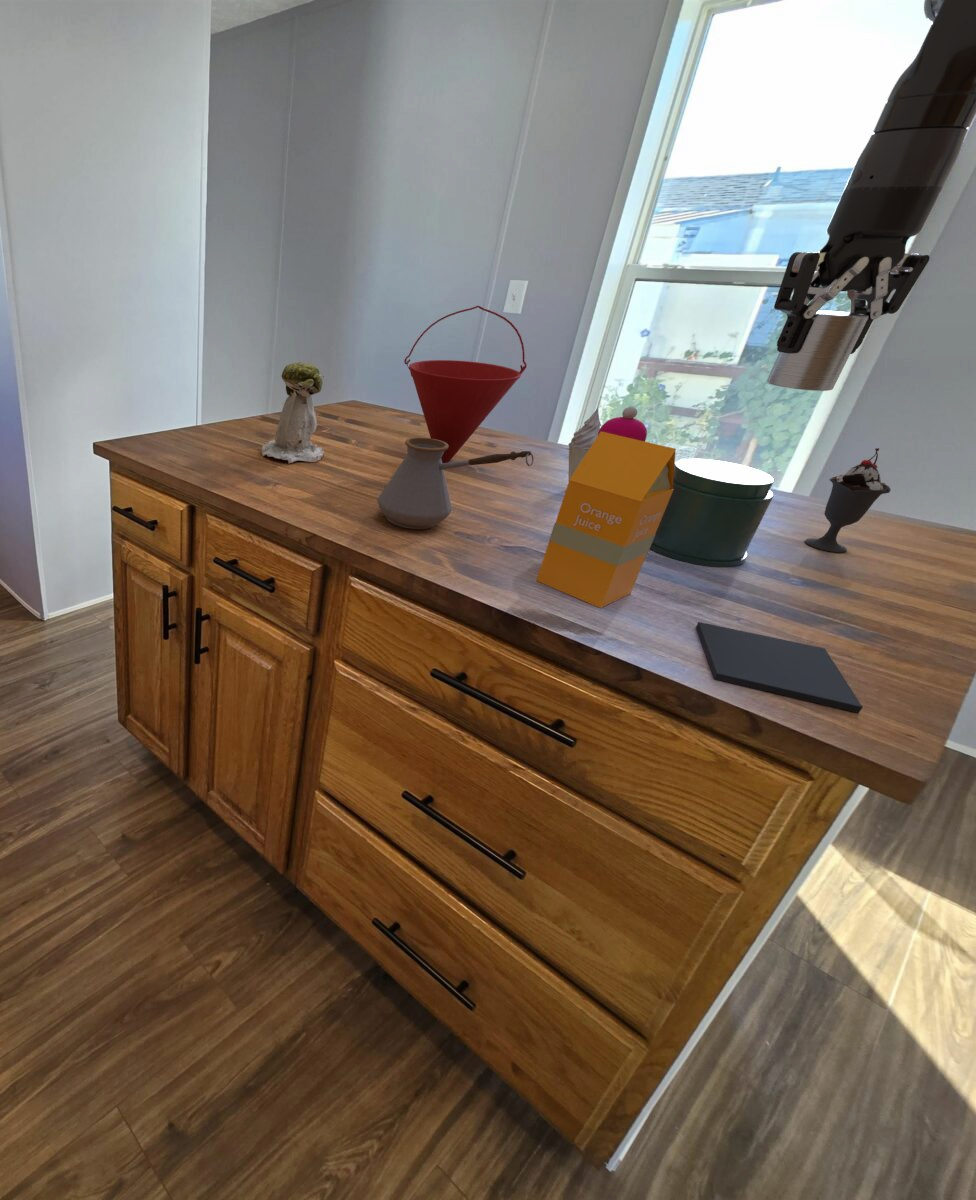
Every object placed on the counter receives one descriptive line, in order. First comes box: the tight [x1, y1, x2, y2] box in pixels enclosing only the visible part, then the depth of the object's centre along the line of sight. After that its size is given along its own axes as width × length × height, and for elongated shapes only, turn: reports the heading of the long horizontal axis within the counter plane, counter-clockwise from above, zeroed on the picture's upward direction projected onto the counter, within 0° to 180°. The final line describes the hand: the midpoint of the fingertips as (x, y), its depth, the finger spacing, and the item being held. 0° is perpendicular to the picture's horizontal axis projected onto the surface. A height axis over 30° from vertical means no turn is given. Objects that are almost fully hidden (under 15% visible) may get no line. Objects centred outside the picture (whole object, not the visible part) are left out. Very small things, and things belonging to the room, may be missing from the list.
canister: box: [649, 458, 775, 568], centre depth 97 cm, size 14×14×12 cm
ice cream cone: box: [567, 407, 602, 484], centre depth 118 cm, size 5×5×15 cm
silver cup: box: [766, 310, 869, 392], centre depth 77 cm, size 6×6×8 cm
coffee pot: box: [377, 437, 535, 530], centre depth 100 cm, size 21×12×15 cm, turn 44°
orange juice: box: [536, 432, 677, 609], centre depth 83 cm, size 8×9×20 cm
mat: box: [695, 621, 863, 714], centre depth 72 cm, size 12×12×1 cm
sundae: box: [804, 447, 891, 554], centre depth 97 cm, size 7×7×15 cm
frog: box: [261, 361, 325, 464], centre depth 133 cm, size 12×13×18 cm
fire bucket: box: [403, 305, 527, 463], centre depth 124 cm, size 22×20×30 cm
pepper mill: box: [597, 406, 648, 442], centre depth 98 cm, size 7×7×20 cm
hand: (814, 352), depth 77 cm, fingers closed on silver cup, 6 cm apart
